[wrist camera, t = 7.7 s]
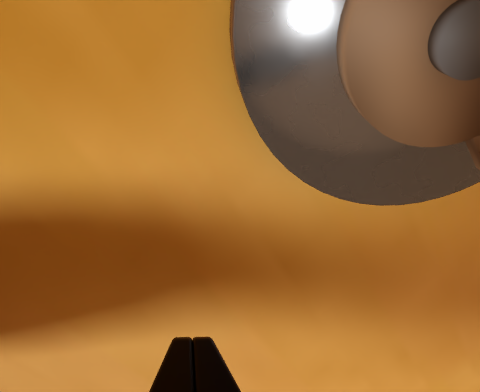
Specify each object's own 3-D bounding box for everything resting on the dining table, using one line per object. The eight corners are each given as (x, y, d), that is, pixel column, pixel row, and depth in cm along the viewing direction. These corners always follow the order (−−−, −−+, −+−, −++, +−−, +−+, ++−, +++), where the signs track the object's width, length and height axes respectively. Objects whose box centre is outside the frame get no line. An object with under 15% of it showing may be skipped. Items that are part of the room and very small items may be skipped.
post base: (212, 183, 21) (220, 244, 16) (261, -314, 12) (305, -454, 8) (504, 196, 24) (575, 251, 19) (713, -198, 15) (924, -256, 11)
